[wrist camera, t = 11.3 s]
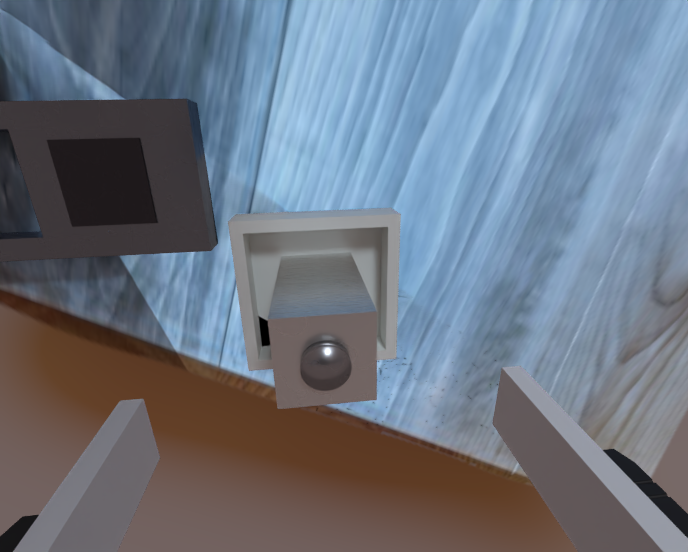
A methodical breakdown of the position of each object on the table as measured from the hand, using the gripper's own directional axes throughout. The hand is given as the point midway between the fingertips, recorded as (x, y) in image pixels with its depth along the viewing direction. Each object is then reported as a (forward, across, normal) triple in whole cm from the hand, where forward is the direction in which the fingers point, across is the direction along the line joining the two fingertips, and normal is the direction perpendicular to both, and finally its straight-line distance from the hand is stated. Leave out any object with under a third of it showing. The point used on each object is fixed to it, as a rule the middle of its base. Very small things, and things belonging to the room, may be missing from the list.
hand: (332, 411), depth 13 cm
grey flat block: (+15, -17, +7) cm, 24 cm away
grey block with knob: (+14, 0, -1) cm, 14 cm away
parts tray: (+14, 0, -1) cm, 14 cm away
